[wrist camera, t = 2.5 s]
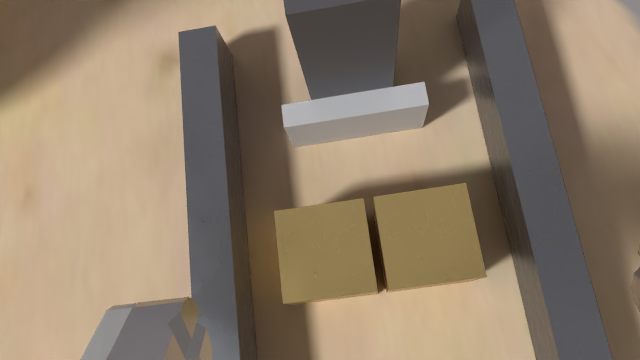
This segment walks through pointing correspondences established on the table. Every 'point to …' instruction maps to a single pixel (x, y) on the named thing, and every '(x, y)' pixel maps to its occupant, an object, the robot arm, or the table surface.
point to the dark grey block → (349, 72)
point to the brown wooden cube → (324, 252)
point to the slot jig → (506, 162)
